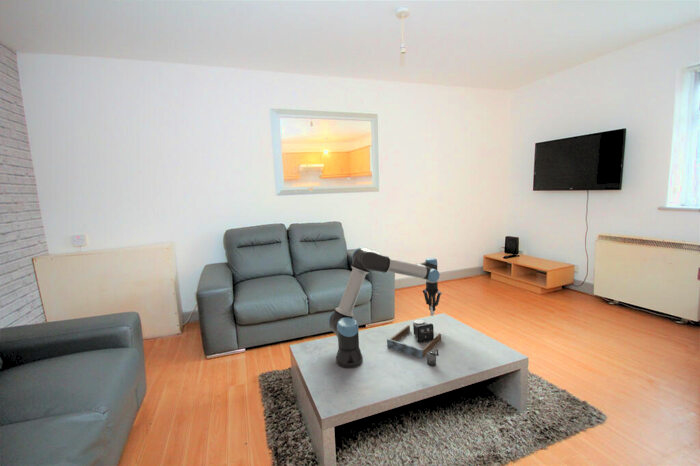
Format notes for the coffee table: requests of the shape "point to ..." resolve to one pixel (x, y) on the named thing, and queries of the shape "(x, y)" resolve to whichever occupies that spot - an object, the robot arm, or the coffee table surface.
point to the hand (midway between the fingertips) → (432, 314)
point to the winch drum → (431, 358)
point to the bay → (410, 349)
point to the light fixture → (423, 331)
